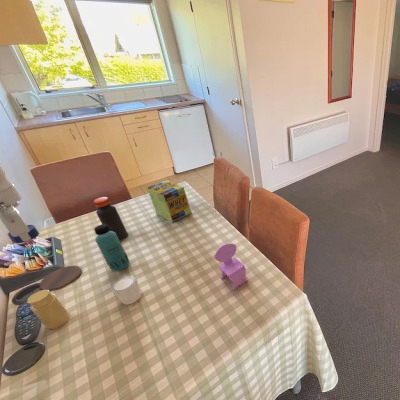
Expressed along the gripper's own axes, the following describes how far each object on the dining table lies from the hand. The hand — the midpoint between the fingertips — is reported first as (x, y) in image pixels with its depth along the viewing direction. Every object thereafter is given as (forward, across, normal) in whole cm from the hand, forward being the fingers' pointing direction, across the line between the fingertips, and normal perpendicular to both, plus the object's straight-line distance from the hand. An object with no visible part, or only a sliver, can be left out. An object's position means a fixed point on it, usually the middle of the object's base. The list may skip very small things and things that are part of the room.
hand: (24, 235), depth 85 cm
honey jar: (+23, -18, +4) cm, 29 cm away
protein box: (+23, +14, -49) cm, 56 cm away
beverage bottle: (+23, -8, -17) cm, 30 cm away
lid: (+1, 0, 0) cm, 1 cm away
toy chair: (+23, -49, -40) cm, 67 cm away
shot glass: (+23, -27, -13) cm, 38 cm away
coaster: (+23, +4, -1) cm, 23 cm away
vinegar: (+23, +14, -24) cm, 36 cm away
